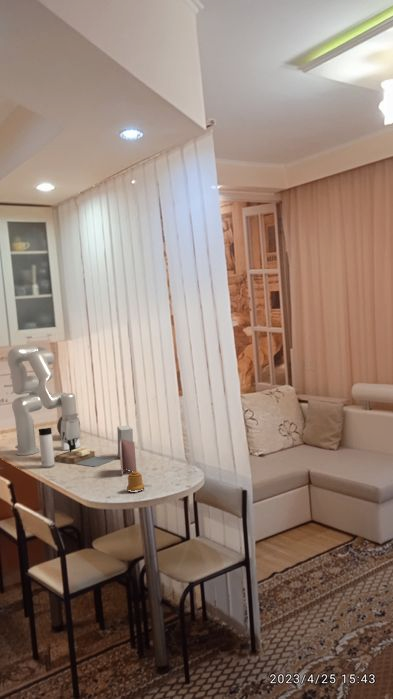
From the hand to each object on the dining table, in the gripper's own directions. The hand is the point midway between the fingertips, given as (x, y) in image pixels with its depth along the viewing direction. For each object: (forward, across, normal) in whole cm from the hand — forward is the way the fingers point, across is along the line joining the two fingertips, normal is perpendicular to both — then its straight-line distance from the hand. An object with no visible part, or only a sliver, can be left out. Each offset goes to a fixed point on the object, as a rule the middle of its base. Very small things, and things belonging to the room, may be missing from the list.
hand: (72, 451), depth 306 cm
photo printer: (+4, -15, -18) cm, 24 cm away
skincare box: (+4, -13, +26) cm, 29 cm away
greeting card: (+4, +7, +46) cm, 46 cm away
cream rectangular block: (+1, 0, +6) cm, 6 cm away
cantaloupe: (+4, -33, -39) cm, 52 cm away
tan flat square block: (+4, 0, +2) cm, 4 cm away
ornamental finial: (+4, +26, +67) cm, 72 cm away
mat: (+4, 0, +16) cm, 17 cm away
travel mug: (+4, +16, -1) cm, 16 cm away
